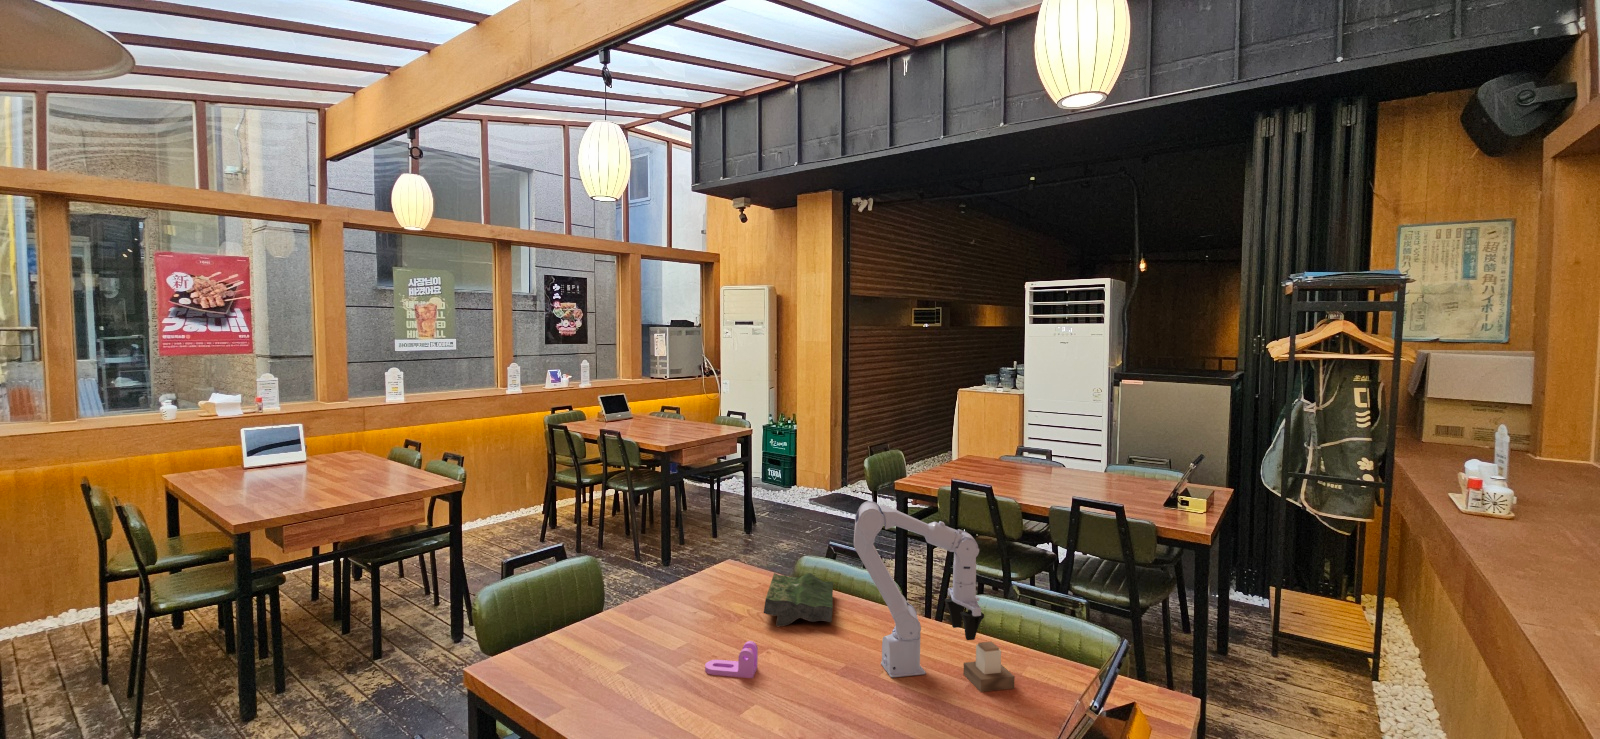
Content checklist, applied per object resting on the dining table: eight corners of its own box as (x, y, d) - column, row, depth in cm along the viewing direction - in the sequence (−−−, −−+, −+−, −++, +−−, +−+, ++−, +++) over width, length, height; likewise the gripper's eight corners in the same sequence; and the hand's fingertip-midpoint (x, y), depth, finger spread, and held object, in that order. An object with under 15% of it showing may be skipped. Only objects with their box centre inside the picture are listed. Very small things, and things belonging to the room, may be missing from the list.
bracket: (757, 668, 169) (757, 641, 169) (752, 678, 163) (753, 651, 163) (708, 664, 171) (708, 637, 171) (702, 674, 165) (702, 647, 165)
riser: (980, 691, 158) (980, 679, 158) (963, 674, 167) (963, 662, 167) (1014, 688, 160) (1014, 676, 160) (995, 671, 169) (995, 659, 169)
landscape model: (830, 633, 194) (834, 599, 194) (762, 624, 195) (765, 590, 196) (831, 605, 220) (834, 575, 220) (770, 598, 221) (774, 568, 222)
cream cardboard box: (984, 674, 161) (985, 649, 161) (975, 666, 165) (976, 642, 165) (1000, 672, 162) (1001, 648, 162) (991, 664, 166) (992, 640, 166)
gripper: (992, 589, 162) (991, 644, 162) (965, 570, 176) (964, 620, 176) (966, 591, 160) (965, 646, 161) (941, 572, 175) (940, 622, 175)
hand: (963, 633), depth 168 cm, fingers open, 7 cm apart
